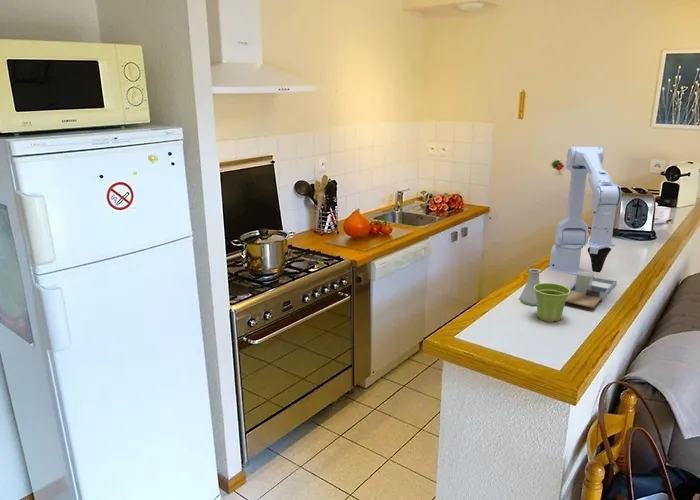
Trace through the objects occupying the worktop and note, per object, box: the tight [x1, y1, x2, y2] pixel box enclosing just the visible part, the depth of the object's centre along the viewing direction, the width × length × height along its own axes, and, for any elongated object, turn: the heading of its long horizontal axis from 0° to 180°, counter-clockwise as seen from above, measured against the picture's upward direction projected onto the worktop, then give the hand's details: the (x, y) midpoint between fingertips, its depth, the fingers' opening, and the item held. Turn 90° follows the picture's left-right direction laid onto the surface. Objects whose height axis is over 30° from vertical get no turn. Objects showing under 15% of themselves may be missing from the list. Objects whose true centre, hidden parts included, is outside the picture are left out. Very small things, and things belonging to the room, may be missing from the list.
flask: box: [518, 268, 542, 307], centre depth 158 cm, size 7×7×10 cm
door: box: [565, 289, 602, 309], centre depth 156 cm, size 10×9×2 cm
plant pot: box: [534, 282, 570, 323], centre depth 147 cm, size 9×9×9 cm
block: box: [575, 270, 594, 293], centre depth 166 cm, size 4×4×6 cm
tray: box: [569, 276, 617, 303], centre depth 168 cm, size 10×19×2 cm, turn 142°
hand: (596, 271), depth 157 cm, fingers closed
